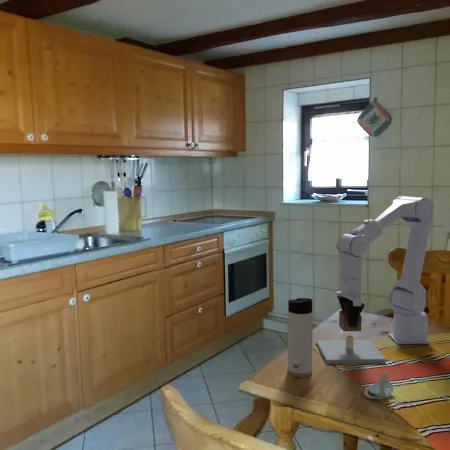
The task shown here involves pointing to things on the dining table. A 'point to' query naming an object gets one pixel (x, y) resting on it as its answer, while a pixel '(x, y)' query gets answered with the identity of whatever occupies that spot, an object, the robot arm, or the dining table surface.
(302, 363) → the travel mug
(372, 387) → the pacifier
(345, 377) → the dining table surface
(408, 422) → the dining table surface
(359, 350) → the grey rectangular slab
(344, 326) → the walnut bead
